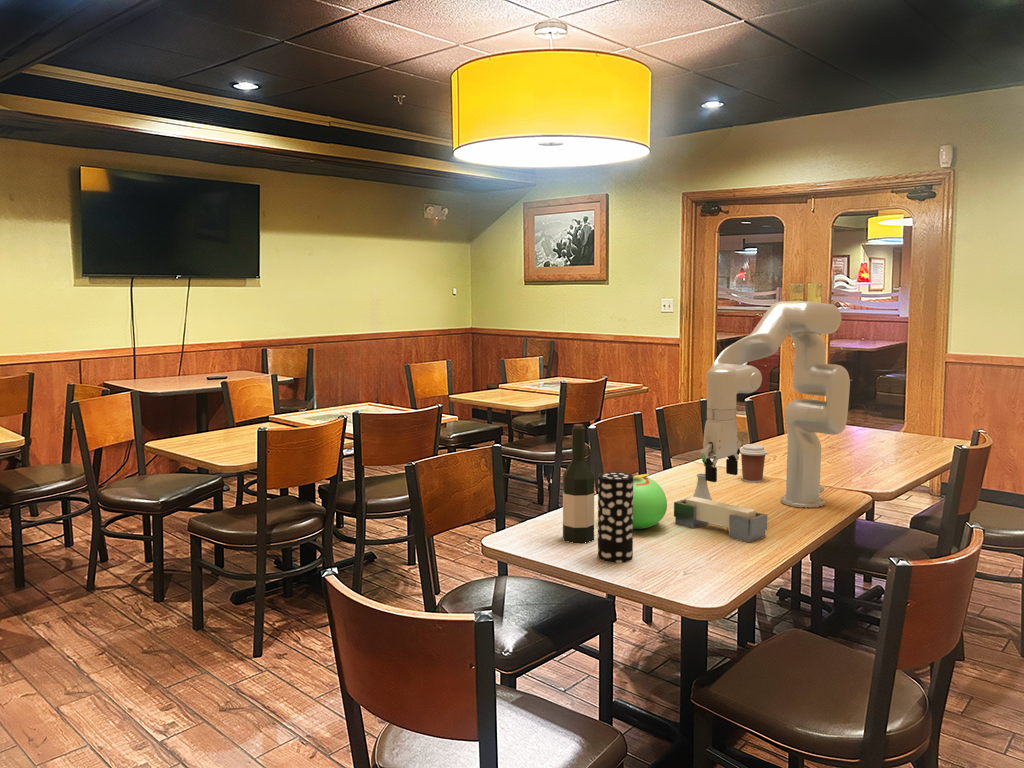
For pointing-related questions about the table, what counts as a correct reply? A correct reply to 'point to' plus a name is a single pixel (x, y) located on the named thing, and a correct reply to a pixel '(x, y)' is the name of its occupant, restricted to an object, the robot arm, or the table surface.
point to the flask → (702, 488)
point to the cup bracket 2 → (747, 527)
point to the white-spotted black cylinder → (615, 517)
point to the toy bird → (647, 502)
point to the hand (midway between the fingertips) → (721, 477)
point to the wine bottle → (578, 493)
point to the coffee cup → (752, 462)
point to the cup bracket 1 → (686, 515)
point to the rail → (718, 511)
